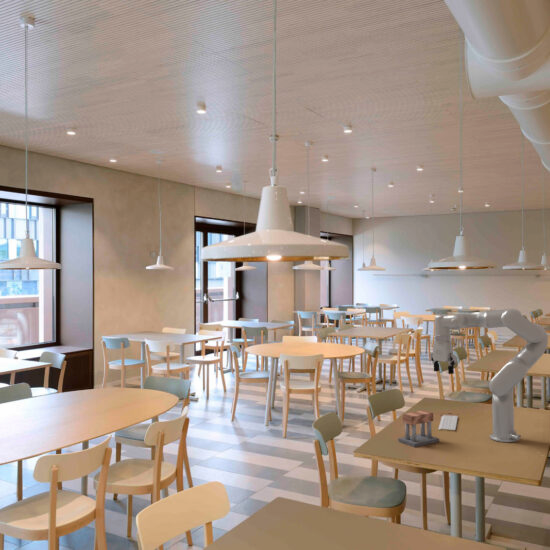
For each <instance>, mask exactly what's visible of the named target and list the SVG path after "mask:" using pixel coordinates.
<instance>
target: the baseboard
mask: <svg viewBox="0 0 550 550" xmlns="http://www.w3.org/2000/svg"><path fill="white" fill-rule="evenodd" d="M448 414H449V415H448ZM458 415H459V414H454V415H452V412H450V413H449V412H448V413H447V415H446V414H444V413H442V414H440V417H441V418H440V422H439V425H438V429H437V431H442V430H447V432H456V431H455V430H457V424H458V418H459V416H458Z"/></svg>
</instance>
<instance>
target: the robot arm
mask: <svg viewBox="0 0 550 550" xmlns="http://www.w3.org/2000/svg"><path fill="white" fill-rule="evenodd" d="M467 328H484V329H493V328H494V329H495V328H496V329H497V328H508V329H509V330H510V331H511V332H513V333H514V334H515V335H517V336H518V337H520V338H521V339H523V340H524V341H526V343H525V345H524V346H523V347H522V348H521V349H520V351H518V353H516V355H514V356H513V357H512V358H511V359H510V360H508V361H507V362H506V363H505V364H504V365H503V366H502V368H500V370H498V372H497V373H495V375H494V376H493V377H492V378H491V379H490V380H489V383H488V389H489V391H490V393H491V394H492V395H491V398H492V399H491V402H492V403H491V404H492V405H491V406H492V407H491V410H492V414H491V415H492V433H491V434H489V439H491V440H493V441H496V442H499V443H500V442H501V443H515V442H518V441H520V439H521V434H517V430H515V418H514V417H515V416H514V415H515V411H514V410H515V408H514V405H515V404H514V389H515V387H516V386H517V385H518V384H519V383H520V382H521V381H522V380H523V379H524V378H525V377H526V375H528V372H529V370H530V369H531V368H532V367H533V366H534V365H535V364H536V363H537V362H538V361H539V360H540V358H542V356H543V355H544V353H545V352H546V349H547V347H548V344H549V342H548V341H549V338H548V337H549V336H548V334H547V332H546V329H545V328H544V326H542V325H541V324H540V323H533V322H532V321H530V320H529V319H527V318H526V317H525V316H524V315H522V313H521V311H520V310H518V309H516V308H504V309H493V310H483V311H476V312H474V311H473V312H465V313H457V314H451V315H449V314H443V313H442V314H435V317H434V342H433V345H432V352H431V353H430V354H429V356H430V358H431V359H430V360H431V361H432V364H433V372H439V371H440V363H439V362H443V363H447V364H448V365H447V366H448V367H447V371H448V373H447V374H448V375H451V374H452V375H454V372H455V370H454V366H455V365H456V363H457V360H458V357H457V356H456V355H455V354H454V351H453V350H454V349H453V344H452V341H451V340H452V339H451V337H452V336H451V330H462V329H467Z"/></svg>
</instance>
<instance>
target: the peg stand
mask: <svg viewBox="0 0 550 550" xmlns="http://www.w3.org/2000/svg"><path fill="white" fill-rule="evenodd" d="M404 428H405V429H404V430H405V431H404V433H405V434H404V435H405V436H402V437H398V438H397V441H399V443H401V444H405V445H406V446H409V445H410V447H413V448H417V447H422V446H426V445H431V444H434V443H439V442H440V438H438V437H435V436H432V435H433V434H432V421H431V422H426V425H425V423H421V424H420V433H418V434H417V424H416V425H411V429H410V425H409V424H406V423H404ZM410 430H411V435H410ZM426 430H427V432H426Z"/></svg>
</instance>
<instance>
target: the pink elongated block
mask: <svg viewBox="0 0 550 550" xmlns="http://www.w3.org/2000/svg"><path fill="white" fill-rule="evenodd" d="M427 422H431V423H432V422H434V412H432V411H428V410H425V409H424V410H417V411H415V412H414V411H413V412H408V413H407V412H406V413H402V423H403V424H405V423H406V424H409V426H412V425H416V426H417V425H421V423H426V424H427Z"/></svg>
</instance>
